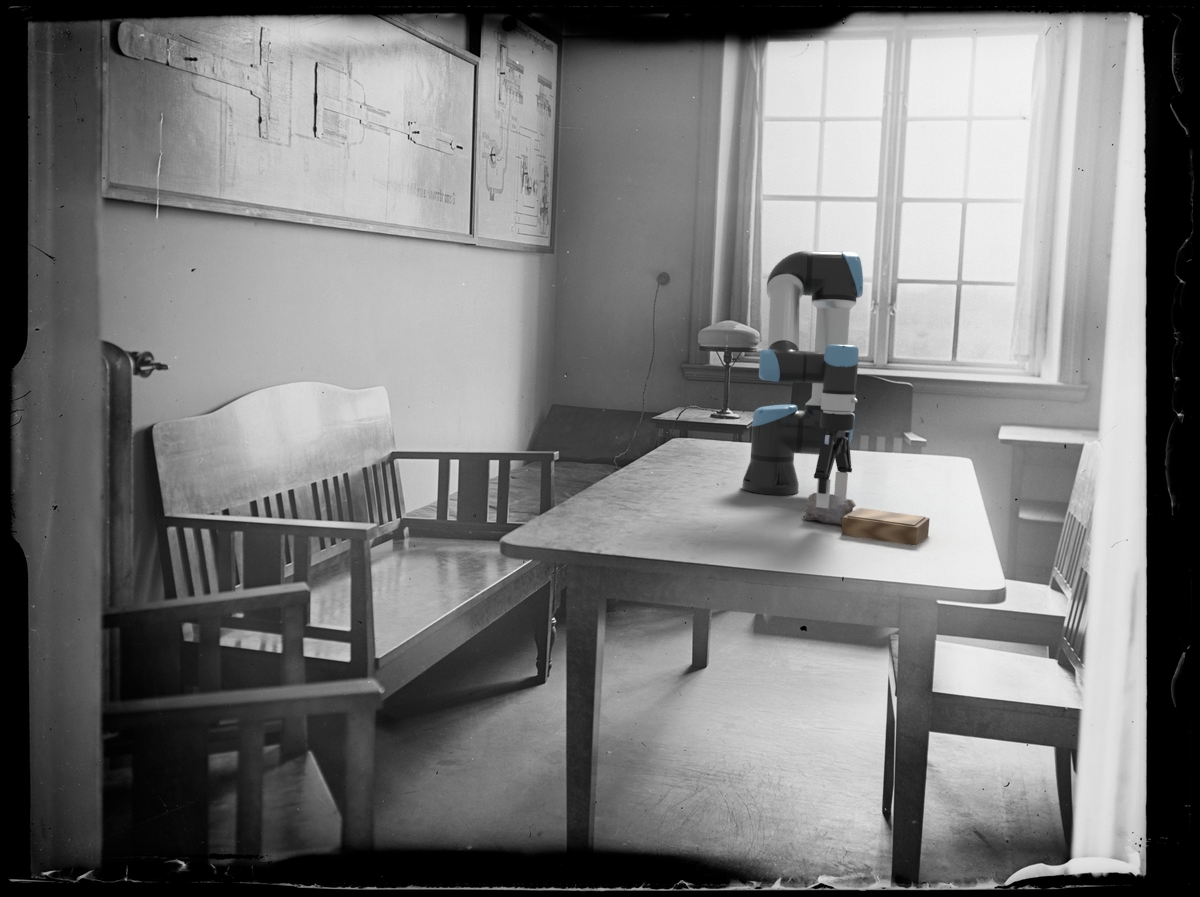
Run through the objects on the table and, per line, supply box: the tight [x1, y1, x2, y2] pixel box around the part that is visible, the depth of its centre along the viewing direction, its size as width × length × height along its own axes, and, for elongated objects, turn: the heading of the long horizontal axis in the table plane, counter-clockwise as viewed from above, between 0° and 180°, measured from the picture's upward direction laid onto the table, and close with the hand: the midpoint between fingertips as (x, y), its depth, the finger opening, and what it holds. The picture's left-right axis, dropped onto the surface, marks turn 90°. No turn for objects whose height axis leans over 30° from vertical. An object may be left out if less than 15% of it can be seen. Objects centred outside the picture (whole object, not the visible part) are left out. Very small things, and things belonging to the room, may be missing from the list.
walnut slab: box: [841, 507, 931, 547], centre depth 212 cm, size 16×12×4 cm
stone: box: [801, 492, 857, 526], centre depth 223 cm, size 8×12×7 cm, turn 56°
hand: (831, 503), depth 222 cm, fingers open, 13 cm apart
